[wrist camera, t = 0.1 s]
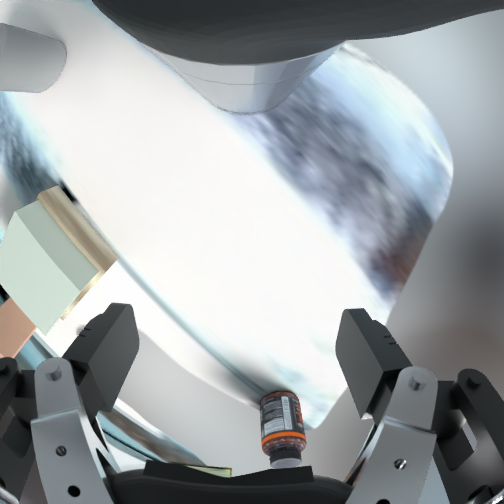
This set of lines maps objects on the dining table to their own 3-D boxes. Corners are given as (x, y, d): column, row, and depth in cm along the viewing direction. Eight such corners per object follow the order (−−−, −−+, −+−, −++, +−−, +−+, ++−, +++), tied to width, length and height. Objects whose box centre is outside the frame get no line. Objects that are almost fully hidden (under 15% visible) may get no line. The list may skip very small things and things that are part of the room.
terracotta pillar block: (17, 290, 29) (-21, 327, 20) (42, 319, 31) (8, 361, 22) (9, 308, 31) (-24, 343, 22) (32, 334, 33) (2, 373, 24)
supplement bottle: (302, 406, 38) (312, 466, 28) (265, 414, 39) (269, 474, 28) (294, 385, 36) (305, 452, 25) (254, 394, 36) (256, 461, 26)
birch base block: (60, 184, 24) (39, 192, 21) (120, 255, 28) (105, 271, 24) (25, 243, 27) (7, 255, 23) (77, 302, 31) (62, 320, 27)
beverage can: (30, 57, 17) (-39, 47, 6) (70, 32, 17) (1, 6, 6) (31, 101, 20) (-45, 105, 9) (71, 78, 19) (-9, 66, 8)
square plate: (120, 470, 56) (118, 480, 52) (44, 422, 47) (40, 432, 44) (174, 463, 50) (172, 476, 46) (76, 405, 41) (70, 419, 37)
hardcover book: (190, 485, 57) (188, 496, 54) (181, 462, 49) (179, 476, 45) (230, 489, 58) (230, 500, 54) (231, 467, 50) (231, 482, 46)
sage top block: (39, 199, 21) (14, 210, 17) (99, 271, 24) (80, 291, 21) (10, 256, 23) (-10, 270, 20) (61, 316, 27) (45, 335, 23)
